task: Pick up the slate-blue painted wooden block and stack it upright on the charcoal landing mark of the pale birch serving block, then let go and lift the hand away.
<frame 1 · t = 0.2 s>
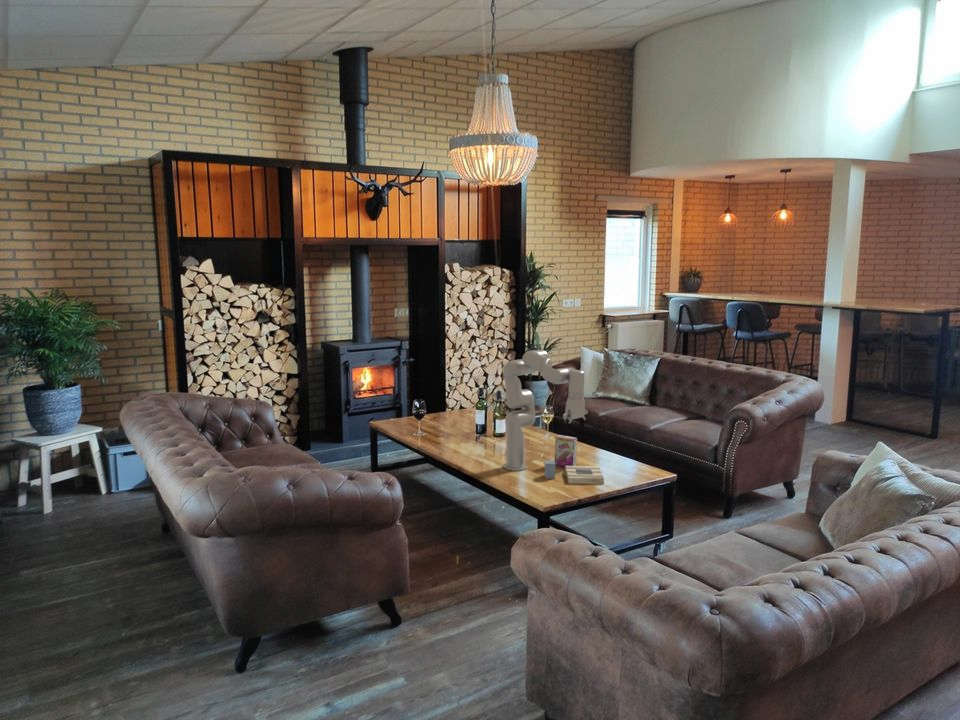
hand: (575, 429, 352), 31 cm above the table, tool pointing down, fingers open, 9 cm apart
slate block: (549, 476, 375), on the table
birch base: (583, 477, 375), on the table
candy bar box: (565, 466, 395), on the table
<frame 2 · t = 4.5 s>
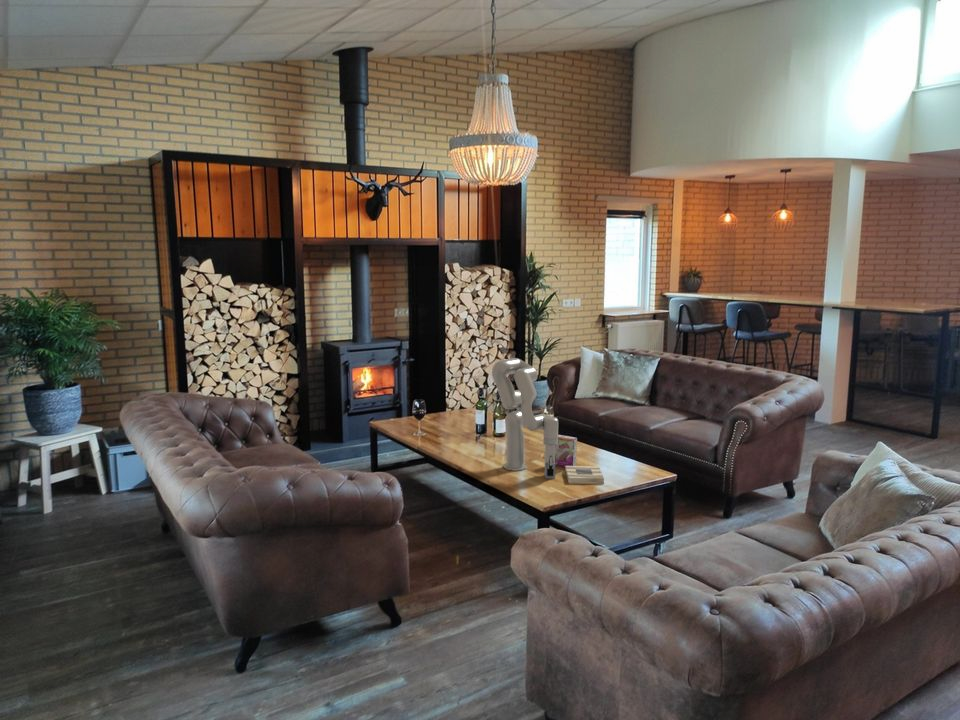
hand: (549, 473, 375), 2 cm above the table, tool pointing down, fingers closed on slate block, 5 cm apart
slate block: (549, 476, 375), on the table, touching gripper
everything else where it was.
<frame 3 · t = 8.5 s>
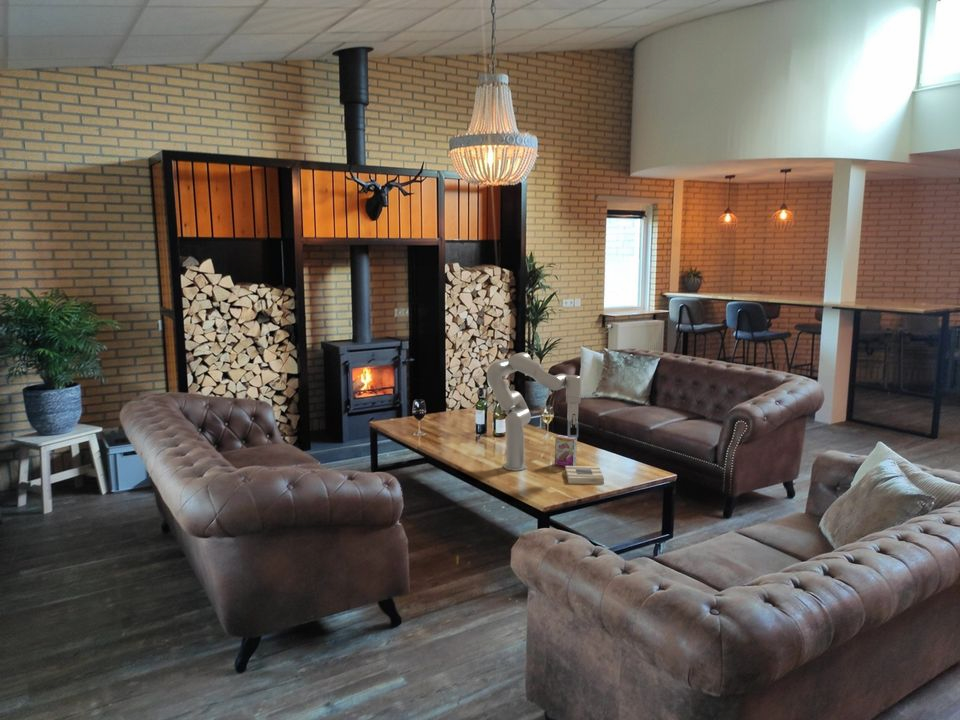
hand: (572, 433, 371), 24 cm above the table, tool pointing down, fingers closed on slate block, 5 cm apart
slate block: (572, 436, 371), point 22 cm above the table, touching gripper
everything else where it was.
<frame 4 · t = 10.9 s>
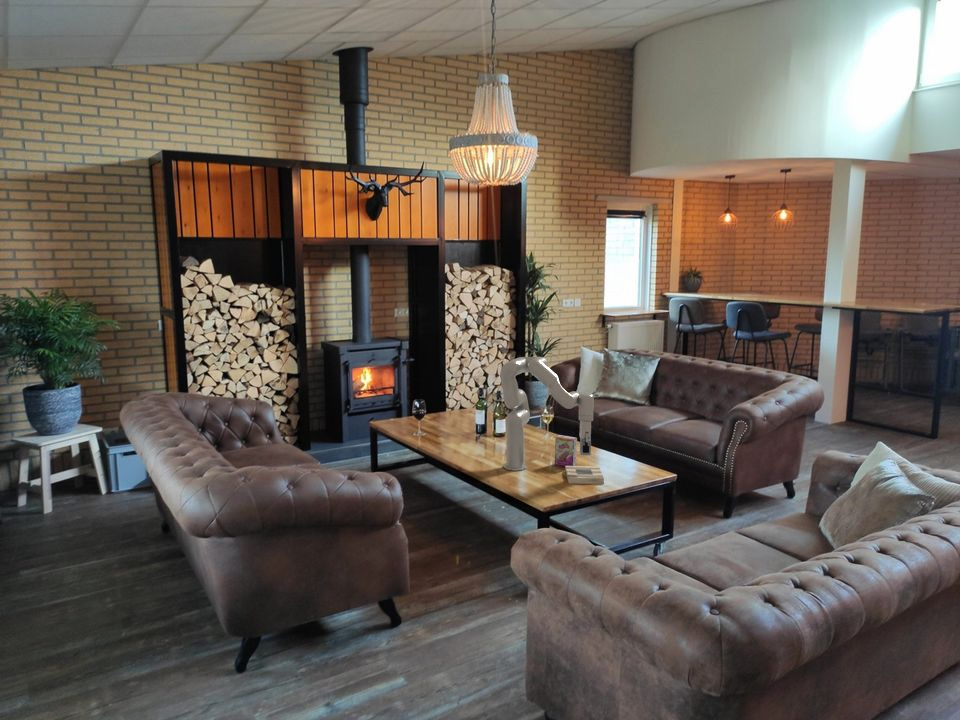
hand: (585, 450, 373), 15 cm above the table, tool pointing down, fingers closed on slate block, 5 cm apart
slate block: (585, 453, 373), point 13 cm above the table, touching gripper
everything else where it was.
when the fingers open (6 cm above the table, at t = 12.9 s): slate block stays where it is, resting on birch base.
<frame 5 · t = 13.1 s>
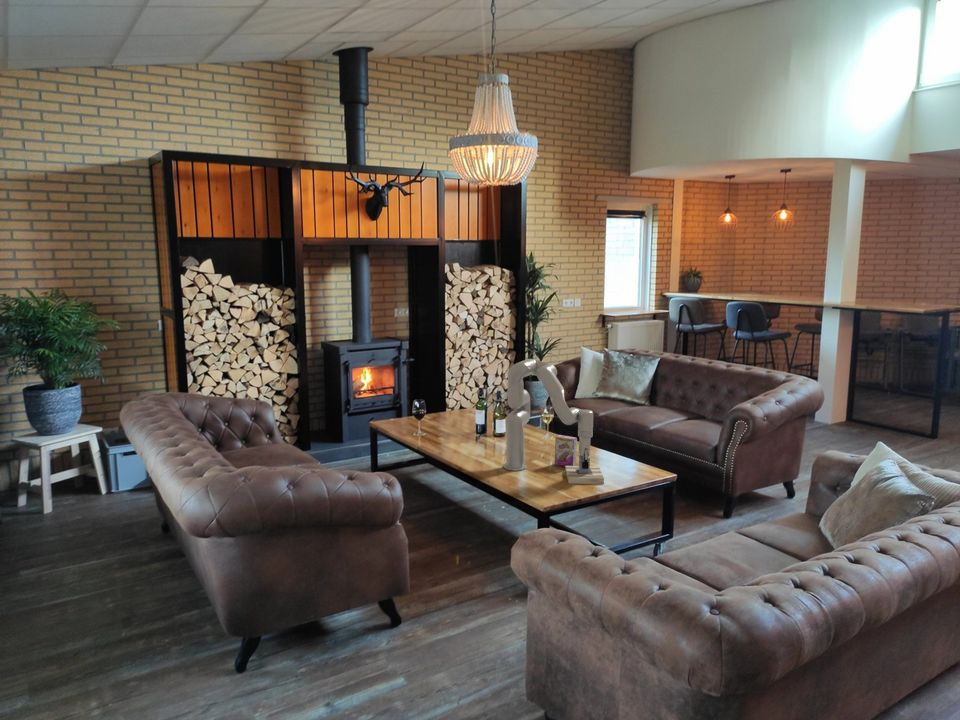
hand: (584, 466, 374), 6 cm above the table, tool pointing down, fingers open, 6 cm apart
slate block: (584, 471, 374), point 3 cm above the table, touching birch base
everything else where it was.
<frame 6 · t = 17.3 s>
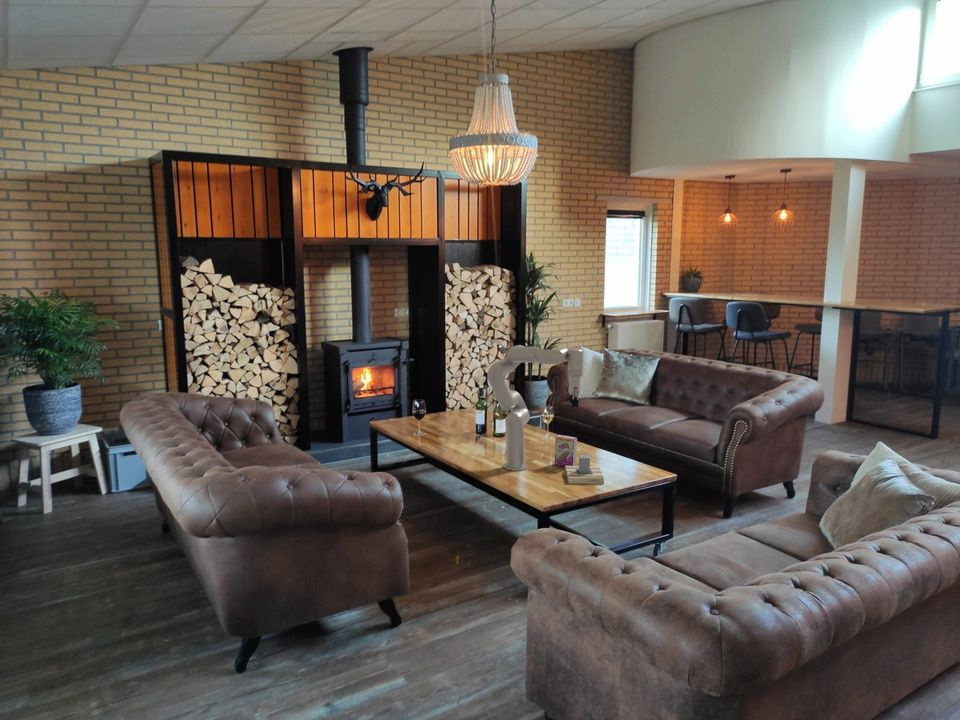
hand: (574, 404, 372), 38 cm above the table, tool pointing down, fingers open, 9 cm apart
nothing on the table moved.
at the end: slate block 0.1 cm off-centre on the birch base, point 3.2 cm above the birch base's base; slate block tilted 0°; the gripper is holding nothing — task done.
